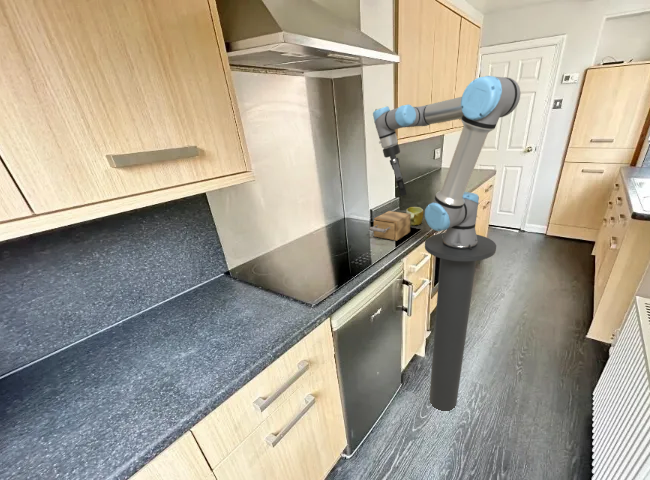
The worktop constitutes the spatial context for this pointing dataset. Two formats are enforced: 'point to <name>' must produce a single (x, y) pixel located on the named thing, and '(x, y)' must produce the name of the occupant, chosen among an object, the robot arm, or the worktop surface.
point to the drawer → (384, 229)
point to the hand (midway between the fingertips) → (402, 192)
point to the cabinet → (397, 222)
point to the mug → (415, 215)
